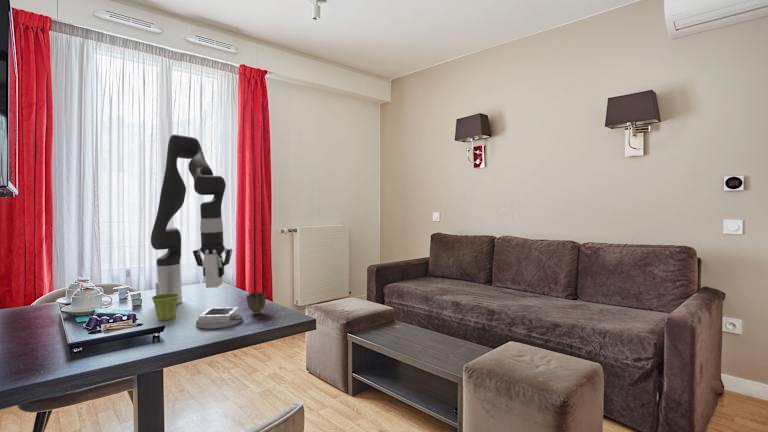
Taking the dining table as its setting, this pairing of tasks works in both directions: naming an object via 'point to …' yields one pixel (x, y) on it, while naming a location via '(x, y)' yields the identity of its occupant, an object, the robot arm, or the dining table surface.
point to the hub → (219, 318)
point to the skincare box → (212, 271)
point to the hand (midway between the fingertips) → (213, 277)
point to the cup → (256, 302)
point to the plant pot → (165, 305)
